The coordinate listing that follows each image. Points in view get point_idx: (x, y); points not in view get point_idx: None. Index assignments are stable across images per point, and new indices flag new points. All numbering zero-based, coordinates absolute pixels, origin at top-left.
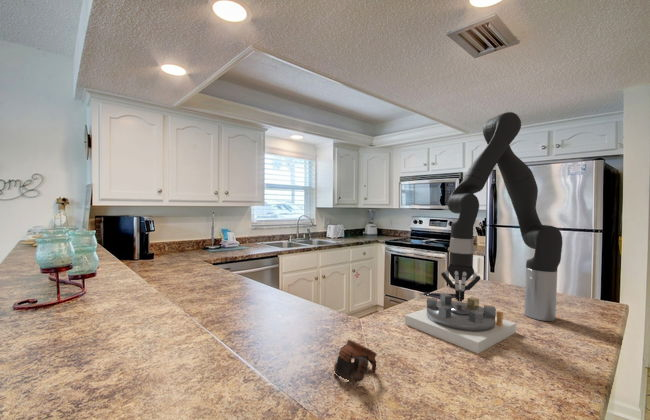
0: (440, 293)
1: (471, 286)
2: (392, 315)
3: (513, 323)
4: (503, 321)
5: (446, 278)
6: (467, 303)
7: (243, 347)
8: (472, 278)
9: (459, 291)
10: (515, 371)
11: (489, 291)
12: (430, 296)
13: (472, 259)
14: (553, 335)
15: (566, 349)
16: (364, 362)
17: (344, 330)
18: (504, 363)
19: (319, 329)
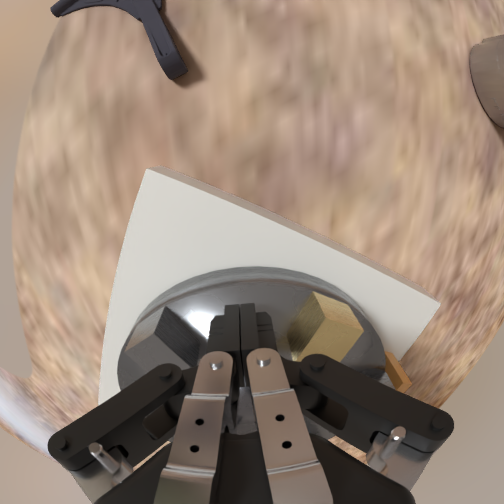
0: None
1: (338, 414)
2: (49, 340)
3: (432, 312)
4: (409, 315)
5: (129, 457)
6: (289, 342)
7: (53, 459)
8: (367, 458)
9: (242, 384)
10: (346, 443)
11: None
12: (80, 8)
13: None
14: (492, 247)
15: (475, 321)
16: None
17: (63, 427)
18: (337, 437)
19: (45, 427)
